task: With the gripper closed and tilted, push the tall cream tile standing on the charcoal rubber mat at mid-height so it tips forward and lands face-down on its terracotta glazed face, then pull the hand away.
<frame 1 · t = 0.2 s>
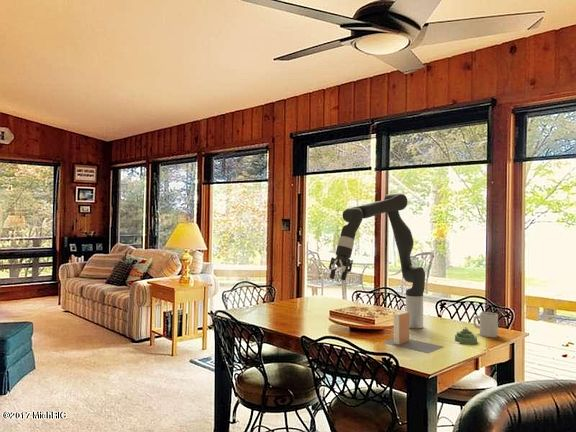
hand: (337, 279, 222), 30 cm above the table, tool tilted 20°, fingers open, 8 cm apart
mug: (485, 335, 236), on the table
mat: (412, 345, 216), on the table
tile: (401, 342, 220), point 1 cm above the table, touching mat
decorative artifact: (465, 342, 224), on the table
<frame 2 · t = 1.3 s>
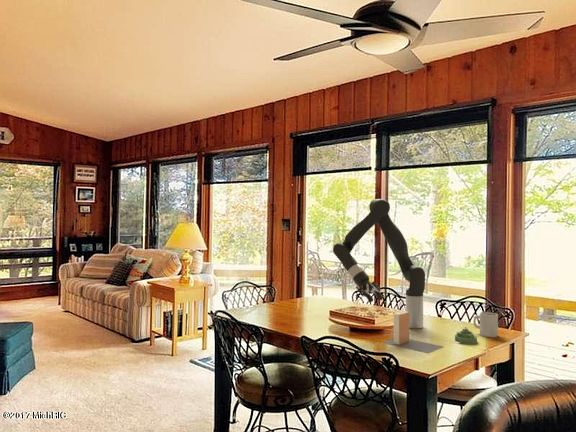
hand: (377, 300, 230), 19 cm above the table, tool tilted 45°, fingers open, 8 cm apart
nothing on the table moved.
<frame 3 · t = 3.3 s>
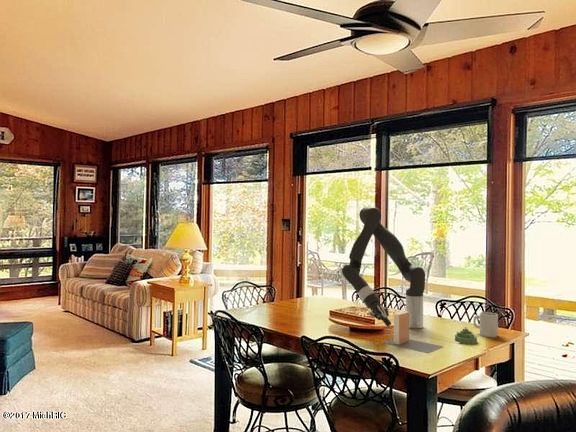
hand: (389, 325, 225), 8 cm above the table, tool tilted 45°, fingers closed
nothing on the table moved.
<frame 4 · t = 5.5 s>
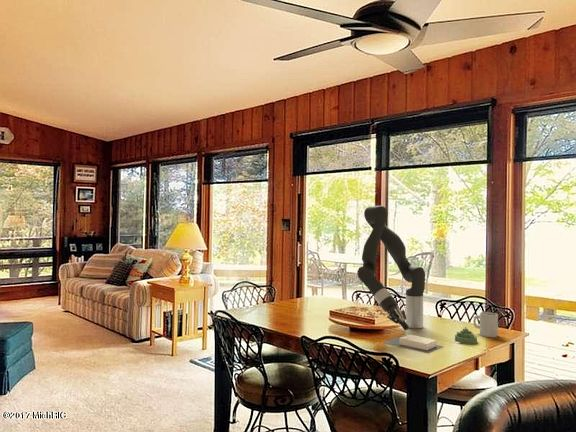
hand: (407, 329, 218), 7 cm above the table, tool tilted 45°, fingers closed
tile: (404, 339, 219), point 2 cm above the table, tilted 90°, touching mat
everything else where it was.
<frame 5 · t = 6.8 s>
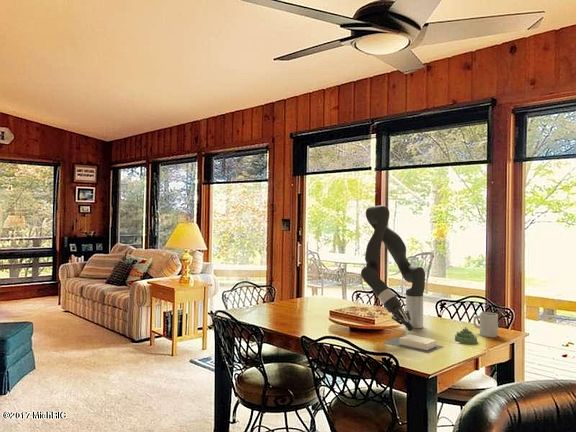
hand: (411, 330, 216), 7 cm above the table, tool tilted 45°, fingers closed
nothing on the table moved.
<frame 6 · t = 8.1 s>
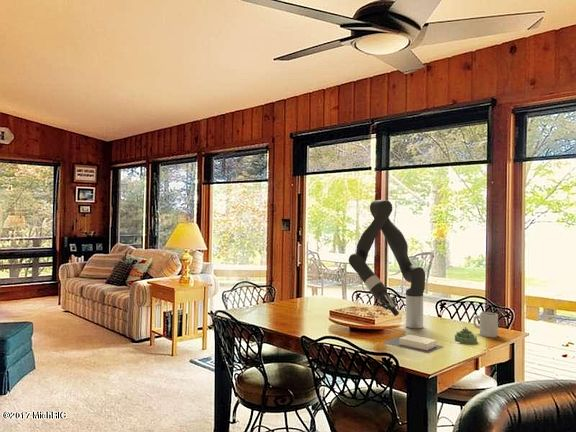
hand: (397, 314, 222), 13 cm above the table, tool tilted 45°, fingers closed
nothing on the table moved.
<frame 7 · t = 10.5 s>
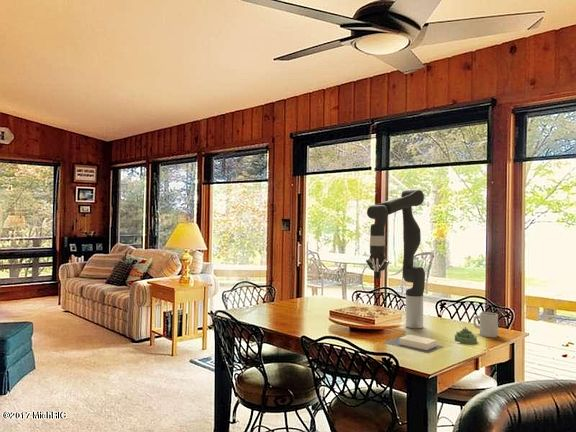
hand: (377, 278, 233), 29 cm above the table, tool pointing down, fingers closed
nothing on the table moved.
at the end: tile tilted 90°; tile inside the target area (3.7 cm from its centre), point 2.3 cm above the table; tile touching mat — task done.
